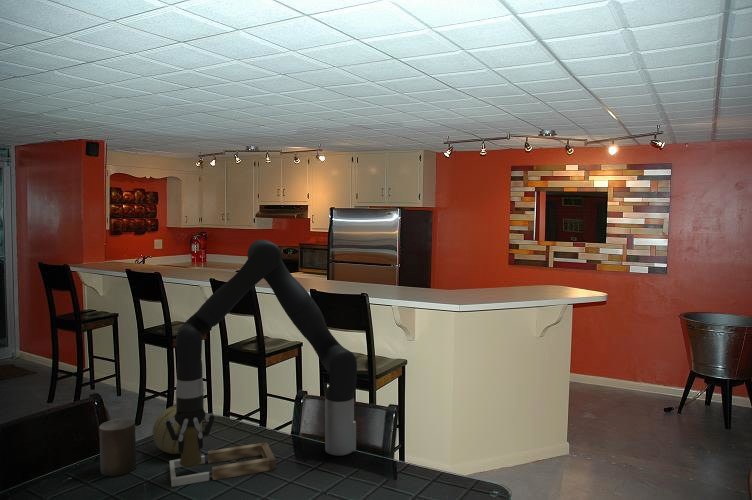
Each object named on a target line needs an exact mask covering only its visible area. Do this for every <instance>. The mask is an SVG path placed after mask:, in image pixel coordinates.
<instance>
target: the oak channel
mask: <svg viewBox="0 0 752 500" xmlns="http://www.w3.org/2000/svg"><path fill="white" fill-rule="evenodd" d="M256 456H261V457H262V458H259V459H252V460H246V461H240V462H234V463H228V464H220V465H216V466H212V467H211V478H212V481H216V480H221V479H227V478H232V477H238V476H244V475H250V474H251V475H252V474H257V473H261V472H262V473H263V472H268V471H272V470H277V459H276V456H275V455H274V453H273V451H272V450H271V448H270V446H269V444H268V442H258V443H251V444H247V445H239V446H232V447H227V448H226V447H225V448H220V449H215V450H213V449H212V450H207V463H208V464H212V463H214V464H215V463H220V462H226V461H233V460H238V459H243V458H244V459H245V458H251V457H256Z"/></svg>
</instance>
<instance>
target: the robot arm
mask: <svg viewBox="0 0 752 500" xmlns="http://www.w3.org/2000/svg"><path fill="white" fill-rule="evenodd" d="M247 249H248V250H247V255H246V256H247V260H246V261H245V262H244V263H243V264H242V266H241V268H240V269H239V270H237V271H238V272H236V274H234V275H233V276H232V277H231V278H230V279H229V280H228V281H226V282H225V283H224V284H222V285H221V286H220V287H219V288H217V290H216V291H214V292H213V293H212V294H211V295H210V296H209V297H208V298H207V299H206V300H205V301H204V302H203V304H202V305H201V306H200V307H199V308H198V310H197V311H196V312H195V313H193V315H191V316H190V317H189V318H188V319H186V321H185V322H184V323H183V324H182V325H181V326H180V327H179V328H178V330H177V332H176V336H175V337H176V338H175V345H176V346H175V348H176V357H177V362H176V385H175V401H176V402H175V404H176V405H175V406H176V414H175V417H173V418H171V419H166V420H165V421H166V426H167V428H168V431H169V433H170V436H171V438H172V440H177V441H178V450H179V452H181V453H180V455H181V454H182V453H183V447H184V441H183V433H184V431H185V430H186V427H191V426H195V427H196V428H197V430H198V431H199V434H198V445H199V451H200V452H201V449H203V446H204V441H203V438H204V437H207V436H209V435H210V432H211V429H212V426H213V424H214V420H215V418H216V417H215V415H214V413H213V412H209V413H208V412H206V411H205V409H204V408H205V405H204V404H205V403H204V402H205V401H204V399H205V398H204V392H205V389H204V380H203V379H204V378H203V361H202V352H203V350H202V349H203V338H204V337H205V336H206V334H208V332H210V330H211V329H212V328H213V327H215V326H217V325H218V324H219V323H220V322H221V321H222V320H224V318H225V317H226V316H227V315H228V314H229V313H230V311H232V309H233V308H234V307H235V306H236V305H237V304H238V303H239V302H240V301H241V299H243V297H245V296H246V294H247V293H248V292H249V291H250V290H252V289H253V287H255V286H256V285H257V284H258V283H259V282H260V281H261V280H264V281H265V282H267V284H268V285H269V287H270V288H271V290H272V292H273V294H274V295H275V297H276V299H277V301H278V303H279V304H280V306H281V308H282V310H283V311H284V312H285V314H286V315H287V316H288V318H289V320H290V321H291V322H292V324H293V325H294V326H295V328H296V329H297V330H298V332H299V333H300V334H301V335H302V337H304V339H305V340H307V341H308V343H309V344H310V345H311V346H312V348H313V350H314V352H315V353H316V355H317V357H318V359H319V360H320V363H321V365H322V366H323V368H324V369H325V370H326V372H328V373H329V374H328V376H329V377H328V381H329V382H328V386H327V387H326V388H325V392H324V393H325V394H324V395H325V396H324V400H325V401H324V404H325V405H324V409H325V410H324V411H325V412H324V422H325V423H324V424H325V425H324V440H325V441H324V448H325V449H324V450H325V452H326V453H327V454H329V455H332V456H345V455H349V454H352V453H353V452H356V451H357V421H356V420H355V392H356V389H357V377H358V375H357V374H358V361H357V358H356V355H355V354H354V353H353V352H352V351H351V350H348V349H347V348H345V347H344V346H342V345H341V343H340V342H339V341H338V340H337V339H336V337H334V335H333V334H332V332H331V331H330V329H329V328H328V326H327V323H326V320H325V317H324V315H323V313H322V311H321V309H320V307H319V305H318V304H317V303H316V302H315V300H314V298H313V297H312V296H311V294H310V293H309V291H307V290H306V288H305V287H303V285H302V284H301V283H300V282H299V281H298V280H297V279H296V278H295V277H294V276H293V275H292V274H291V273H290V271H289V269H288V268H287V267H286V265H285V263H284V261H283V260H282V258H283V257H282V252H281V249H280V247H279V246H278V245H277V244H276V243H274V242H272V241H270V240H267V239H258V240H255V241H254V242H252V243H251V244H250V246H249V247H248V248H247ZM204 419H205V420H206V424H205V427H204V430H203V429H202V431H201V428H200V423H201V422H203V421H204ZM175 421H176V422H177V423H178V424H179V425H180V430H179V434H175V431H174V429H173V426H174V422H175Z"/></svg>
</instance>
